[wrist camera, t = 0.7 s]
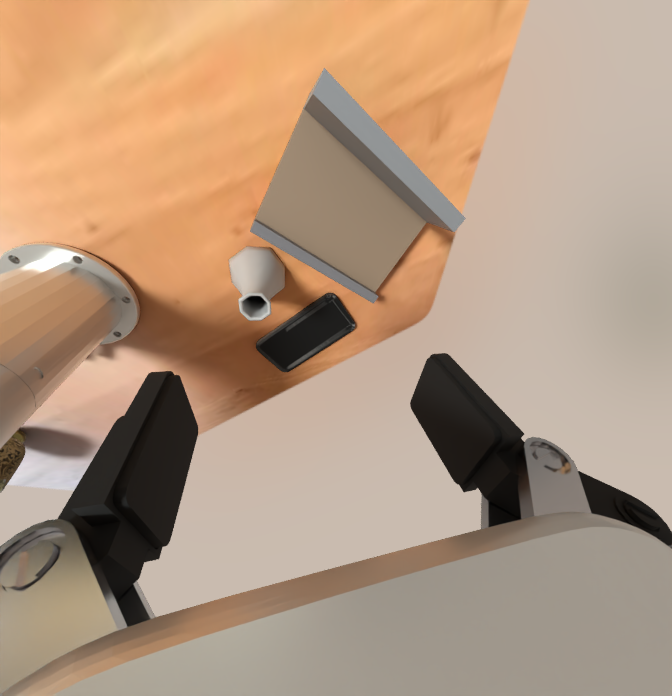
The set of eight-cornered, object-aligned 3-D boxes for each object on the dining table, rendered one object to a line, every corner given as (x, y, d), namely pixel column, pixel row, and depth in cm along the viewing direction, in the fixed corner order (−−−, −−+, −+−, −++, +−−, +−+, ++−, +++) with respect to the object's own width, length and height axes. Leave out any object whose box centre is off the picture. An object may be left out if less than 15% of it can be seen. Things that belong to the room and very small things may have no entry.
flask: (293, 290, 35) (300, 326, 27) (243, 304, 35) (236, 345, 27) (274, 237, 31) (277, 262, 23) (218, 253, 30) (200, 284, 22)
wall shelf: (365, 293, 38) (385, 318, 31) (251, 225, 29) (247, 241, 23) (427, 208, 32) (465, 218, 26) (309, 93, 24) (324, 67, 18)
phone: (357, 327, 40) (284, 374, 43) (355, 323, 41) (284, 370, 44) (332, 291, 36) (252, 346, 38) (331, 288, 36) (252, 342, 39)
